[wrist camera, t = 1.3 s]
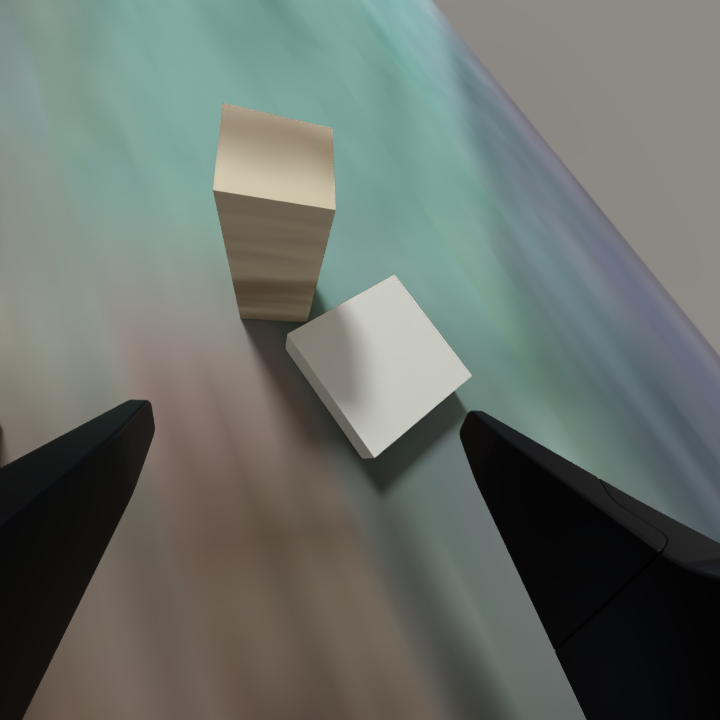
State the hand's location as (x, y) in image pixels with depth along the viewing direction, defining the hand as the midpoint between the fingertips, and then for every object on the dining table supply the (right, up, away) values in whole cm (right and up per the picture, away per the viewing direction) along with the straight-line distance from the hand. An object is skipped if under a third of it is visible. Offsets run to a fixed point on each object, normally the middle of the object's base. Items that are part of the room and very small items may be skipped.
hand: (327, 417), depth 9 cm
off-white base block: (+2, +1, +16) cm, 16 cm away
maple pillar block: (-6, +7, +16) cm, 18 cm away
